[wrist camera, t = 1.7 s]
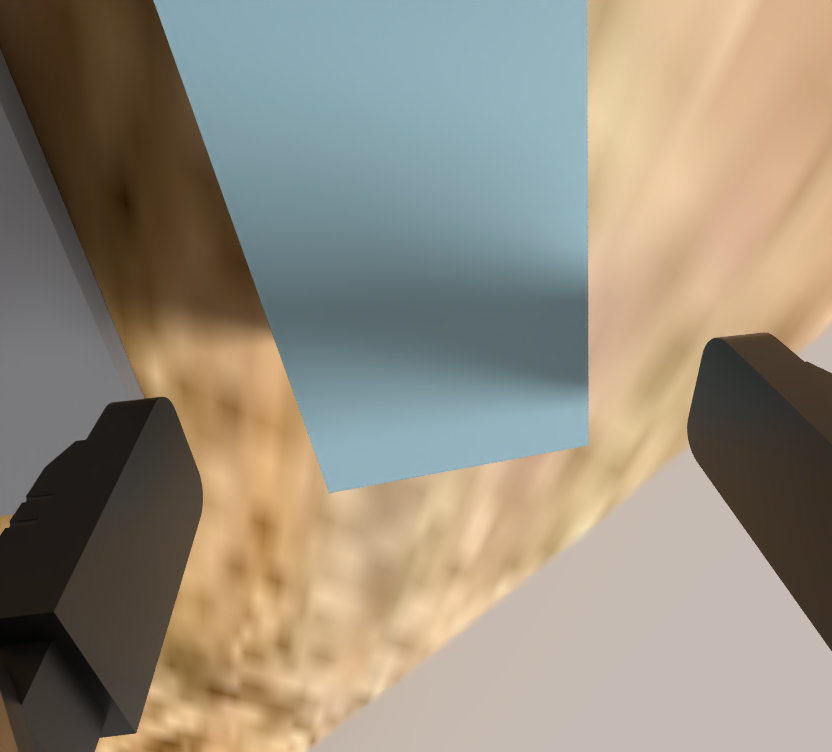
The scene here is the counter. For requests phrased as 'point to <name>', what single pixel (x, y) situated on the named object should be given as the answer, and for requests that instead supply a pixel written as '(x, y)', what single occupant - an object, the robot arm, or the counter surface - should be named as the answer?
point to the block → (407, 216)
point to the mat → (46, 316)
